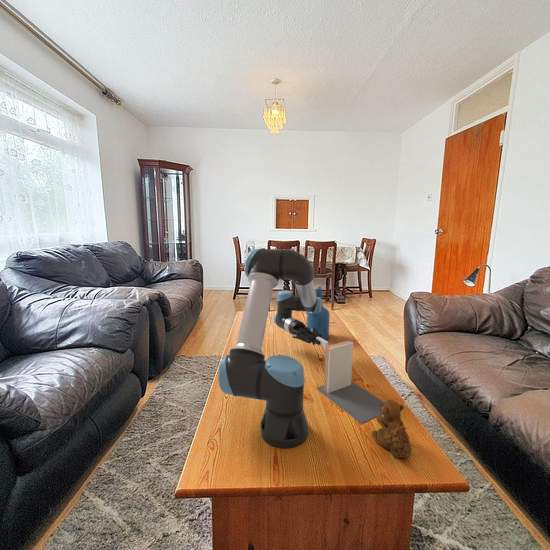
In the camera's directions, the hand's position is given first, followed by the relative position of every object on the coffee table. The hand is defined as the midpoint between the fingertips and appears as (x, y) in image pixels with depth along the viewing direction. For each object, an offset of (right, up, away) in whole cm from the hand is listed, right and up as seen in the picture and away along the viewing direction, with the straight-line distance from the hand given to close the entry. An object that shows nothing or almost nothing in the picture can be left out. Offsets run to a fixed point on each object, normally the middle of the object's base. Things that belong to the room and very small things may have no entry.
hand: (326, 345), depth 120 cm
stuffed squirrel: (+13, -22, -35) cm, 43 cm away
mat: (+8, -17, -11) cm, 22 cm away
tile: (+4, -16, -4) cm, 17 cm away
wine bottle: (+3, -7, +48) cm, 49 cm away
